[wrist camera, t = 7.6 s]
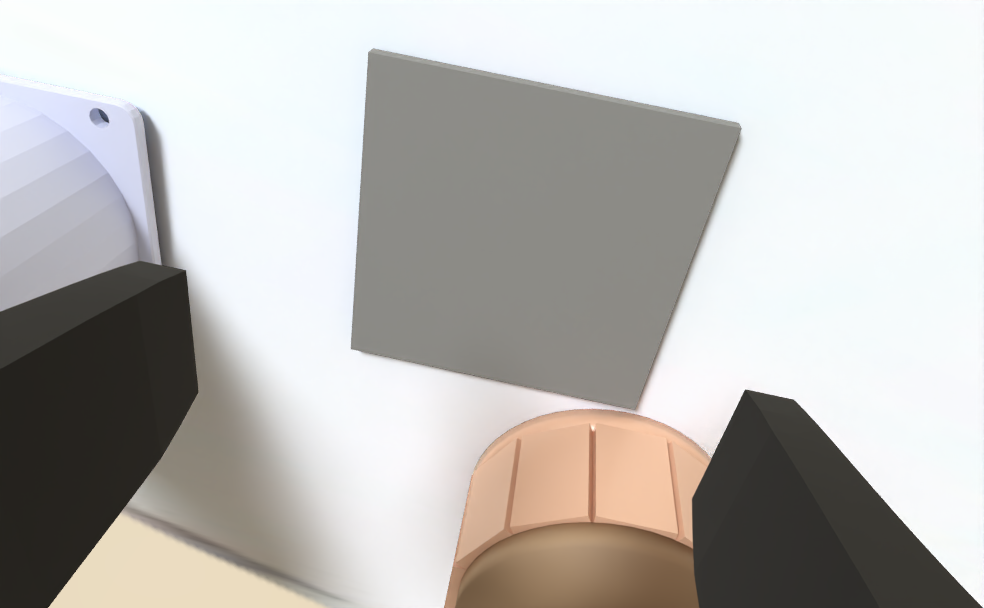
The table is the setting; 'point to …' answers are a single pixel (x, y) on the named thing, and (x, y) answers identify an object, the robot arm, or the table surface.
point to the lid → (581, 570)
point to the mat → (526, 226)
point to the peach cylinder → (580, 480)
